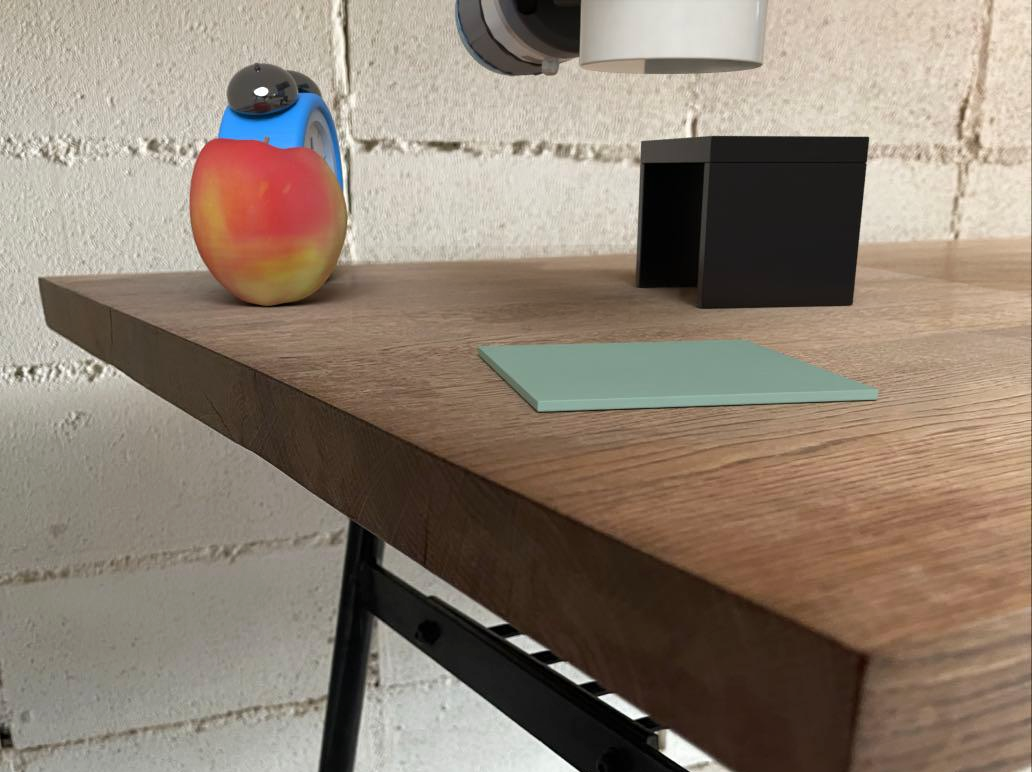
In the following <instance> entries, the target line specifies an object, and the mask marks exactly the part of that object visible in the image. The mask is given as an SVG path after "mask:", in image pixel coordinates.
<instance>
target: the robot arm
mask: <svg viewBox="0 0 1032 772" xmlns="http://www.w3.org/2000/svg"><path fill="white" fill-rule="evenodd" d="M580 7H581V0H455V4H454V20H455V27H456V30H457V34H458V37H459V39H460V41H461V43H462V45H463V47H464V49H465V50H466V52H467V53H468V54H469V55H470V57H471V58H472V59H473V60H474V61H475V62H476V63H477V64H478V65H480V66H481V67H483V68H484V69H486V70H488V71H490V72H492V73H495V74H498V75H503V76H508V77H520V76H521V77H522V76H535V77H537V76H540V75H544V76H546V77H550V76H555V75H557V74H558V73H559V70H560V65H561V64H563V63H567V62H569V61H572V60H573V59H577V58H579V45H580Z"/></svg>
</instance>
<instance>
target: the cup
mask: <svg viewBox="0 0 1032 772" xmlns="http://www.w3.org/2000/svg"><path fill="white" fill-rule="evenodd" d="M768 10H769V0H581V7H580V45H579V57H578V66H579V68H581V69H583V70H586V71H591V72H597V73H598V72H599V73H610V74H611V73H613V74H628V75H629V74H631V75H690V74H691V75H693V74H715V73H717V74H718V73H732V72H742V71H750V70H755V69H758V68H759V69H760V68H761V67H763V66H764V63H765V52H766V38H767V37H766V36H767V25H768V23H767V22H768V12H769V11H768Z"/></svg>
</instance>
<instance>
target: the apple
mask: <svg viewBox="0 0 1032 772" xmlns="http://www.w3.org/2000/svg"><path fill="white" fill-rule="evenodd" d="M269 139H270V138H269V137H266V136H265V139H264V142H262V141H258V140H236V139H227V138H218V137H217V138H213V139H210V140H209V141H207V143H205V144H204V145H203V147H202V148H201V150H200V151H199V153H198V155H197V158H196V160H195V163H194V166H193V170H192V175H191V179H190V187H189V203H188V204H189V206H188V207H189V208H188V209H189V220H190V227H191V233H192V236H193V241H194V244H195V247H196V249H197V252H198V254H199V256H200V258H201V260H202V262H203V264H204V265H205V267H206V269H208V271H209V272H210V274H211V275H212V276H213V278H214V279H215V280H216V281H217V282H218V283H219V284H220V285H221V286H222V287H223V288H224V289H225V290H226V291H228V292H229V293H230V294H231V295H233V296H234V297H236V298H238V299H239V300H241V301H244V302H246V303H249V304H253V305H259V306H264V307H271V306H276V305H282V304H288V303H289V304H290V303H295V302H298V301H302V300H304V299H306V298H308V297H309V296H311V295H313V294H314V293H315V292H317V291H318V290H319V289H320V288H321V287H323V285H324V284H325V283H326V281H327V280H328V279H329V277H330V276H331V275H332V273H333V271H334V269H335V267H336V265H337V264H338V261H339V258H340V256H341V253H342V251H343V248H344V245H345V241H346V237H347V231H348V217H349V216H348V208H347V202H346V198H345V195H344V191H343V192H342V189H341V186H340V184H339V182H338V180H337V178H336V176H335V174H334V173H333V171H332V169H331V168H330V167H329V165H328V164H327V162H326V161H325V160H324V159H323V158H322V157H321V156H320V155H319V154H318V153H317V152H315V151H314V150H312V149H310V148H306V147H292V148H286V149H284V148H277V147H275V146H272V145H270V144H268V142H269Z"/></svg>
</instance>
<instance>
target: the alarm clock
mask: <svg viewBox="0 0 1032 772" xmlns="http://www.w3.org/2000/svg"><path fill="white" fill-rule="evenodd" d="M226 102H227V106H226V107H225V109H224V111H223V113H222V114H223V115H222V117H221V120H220V125H219V129H218V133H217V134H218V135H217V138H227V139H236V140H258V141H262V142H264V139H265V136H266V137H269V138H270V139H269V142H268V144H270V145H272V146H275V147H277V148H284V149H286V148H292V147H306V148H310V149H312V150H314V151H315V152H317V153H318V154H319V155H320V156H321V157H322V158H323V159H324V160H325V161H326V162H327V164H328V165H329V167H330V168H331V169H332V171H333V173H334V174H335V176H336V178H337V180H338V182H339V184H340V186H341V189H342V192H343V193H344V178H343V177H344V176H343V165H342V157H341V149H340V144H339V143H340V141H339V138H338V133H337V130H336V126H335V121H334V118H333V116H332V113H331V110H330V109H329V107H328V105H327V103H326V101H325V100H324V97H323V94H322V91H321V89H320V87H319V86H318V84H317V83H316V82H315V81H314V80H313V79H312V78H311V77H310V76H308V75H306V74H305V73H303V72H299V71H296V70H291V69H284V68H283V67H281V66H279V65H275V64H272V63H268V62H267V63H266V62H254V63H253V64H249V65H247V66H244V67H242V68H241V69H239V70H238V71H236V72H235V73H234V74H233V76H232V77H231V78H230V80H229V82H228V84H227V87H226Z"/></svg>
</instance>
